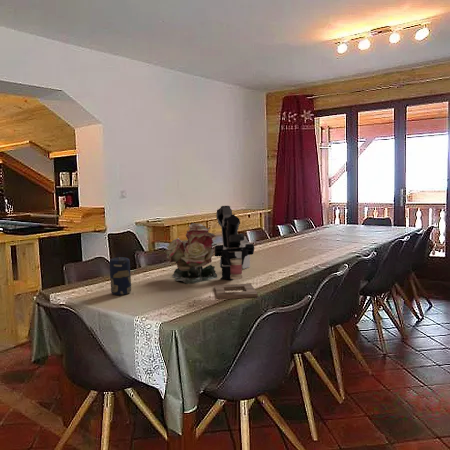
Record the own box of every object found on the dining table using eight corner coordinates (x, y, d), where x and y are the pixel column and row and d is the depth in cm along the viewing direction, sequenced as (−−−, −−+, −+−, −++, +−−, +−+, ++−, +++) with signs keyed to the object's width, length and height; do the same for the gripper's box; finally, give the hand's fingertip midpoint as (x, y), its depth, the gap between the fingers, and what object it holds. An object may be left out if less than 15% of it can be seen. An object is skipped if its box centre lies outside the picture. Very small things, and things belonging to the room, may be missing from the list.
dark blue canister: (133, 290, 217) (131, 254, 215) (129, 295, 207) (127, 257, 206) (113, 291, 217) (111, 255, 215) (109, 296, 207) (106, 258, 205)
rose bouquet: (162, 276, 247) (160, 223, 244) (212, 271, 258) (210, 219, 254) (174, 286, 223) (172, 227, 220) (228, 280, 234) (226, 223, 231)
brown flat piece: (214, 288, 217) (214, 285, 217) (250, 286, 219) (250, 283, 219) (217, 299, 197) (217, 295, 197) (257, 296, 199) (257, 293, 199)
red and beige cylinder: (228, 277, 208) (227, 259, 207) (237, 276, 211) (237, 257, 210) (234, 280, 204) (234, 260, 203) (244, 278, 206) (244, 259, 205)
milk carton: (240, 265, 270) (240, 235, 268) (250, 267, 265) (249, 235, 263) (233, 268, 264) (232, 236, 262) (243, 269, 260) (242, 237, 258)
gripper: (214, 228, 208) (217, 255, 198) (253, 226, 210) (258, 253, 200) (213, 242, 216) (216, 269, 207) (250, 240, 218) (255, 267, 209)
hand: (236, 264), depth 205 cm, fingers closed on red and beige cylinder, 5 cm apart
